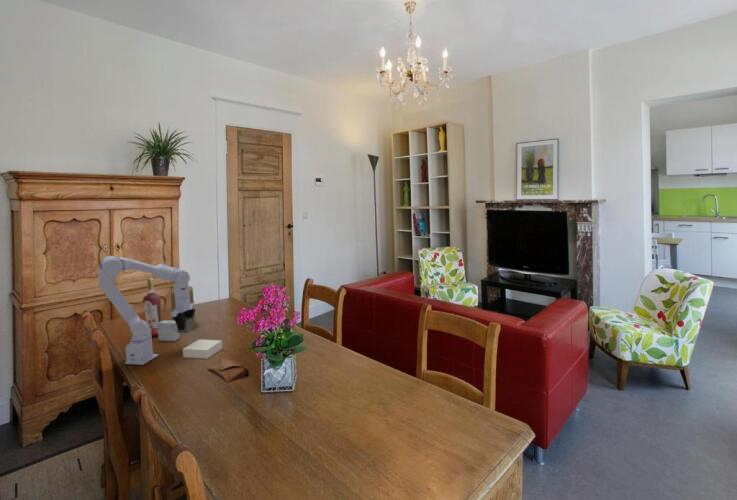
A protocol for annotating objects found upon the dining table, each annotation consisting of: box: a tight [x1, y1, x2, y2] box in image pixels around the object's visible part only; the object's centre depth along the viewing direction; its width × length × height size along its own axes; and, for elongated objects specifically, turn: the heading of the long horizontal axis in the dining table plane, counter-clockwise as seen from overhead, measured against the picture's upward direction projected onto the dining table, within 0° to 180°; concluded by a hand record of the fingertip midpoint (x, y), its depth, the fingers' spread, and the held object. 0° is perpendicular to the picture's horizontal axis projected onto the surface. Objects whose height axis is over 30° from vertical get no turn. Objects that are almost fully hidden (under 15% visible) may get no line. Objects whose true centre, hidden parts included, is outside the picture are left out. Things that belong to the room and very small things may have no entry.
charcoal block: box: [177, 317, 194, 334], centre depth 168 cm, size 4×4×6 cm
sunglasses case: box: [206, 355, 250, 384], centre depth 145 cm, size 18×7×7 cm, turn 48°
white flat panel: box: [182, 339, 223, 360], centre depth 164 cm, size 11×11×4 cm
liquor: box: [142, 277, 162, 338], centre depth 186 cm, size 7×7×28 cm
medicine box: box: [157, 320, 181, 342], centre depth 180 cm, size 8×4×9 cm, turn 84°
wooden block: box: [170, 285, 196, 329], centre depth 198 cm, size 10×10×20 cm
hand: (185, 328), depth 168 cm, fingers closed on charcoal block, 4 cm apart
